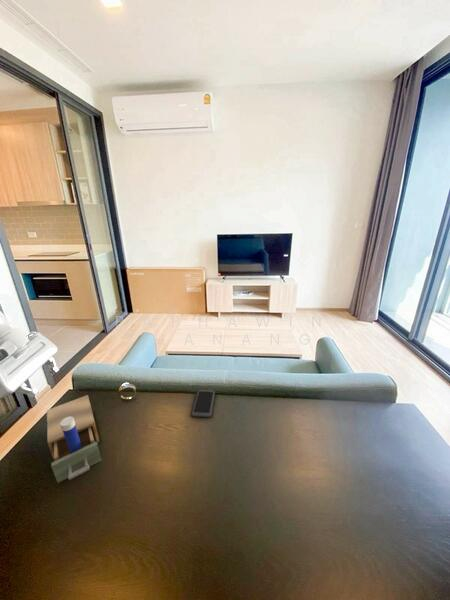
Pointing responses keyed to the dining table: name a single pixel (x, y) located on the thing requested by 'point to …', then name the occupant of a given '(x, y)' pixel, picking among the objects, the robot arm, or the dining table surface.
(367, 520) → the dining table surface
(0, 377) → the robot arm
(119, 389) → the ring
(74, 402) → the cabinet
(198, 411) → the cell phone
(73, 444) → the disc
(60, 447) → the drawer
